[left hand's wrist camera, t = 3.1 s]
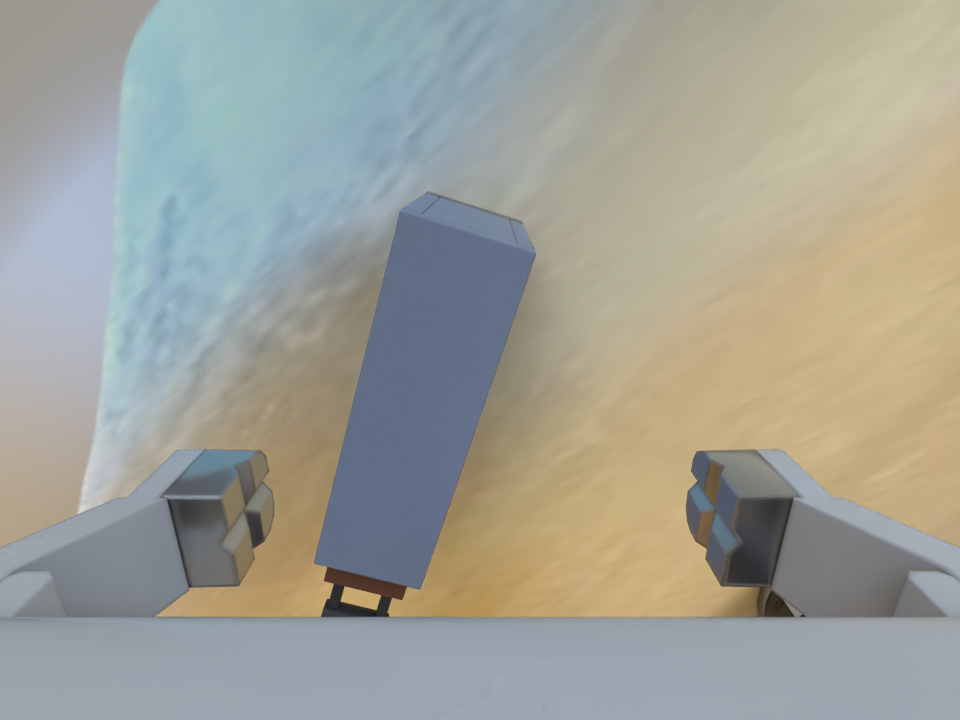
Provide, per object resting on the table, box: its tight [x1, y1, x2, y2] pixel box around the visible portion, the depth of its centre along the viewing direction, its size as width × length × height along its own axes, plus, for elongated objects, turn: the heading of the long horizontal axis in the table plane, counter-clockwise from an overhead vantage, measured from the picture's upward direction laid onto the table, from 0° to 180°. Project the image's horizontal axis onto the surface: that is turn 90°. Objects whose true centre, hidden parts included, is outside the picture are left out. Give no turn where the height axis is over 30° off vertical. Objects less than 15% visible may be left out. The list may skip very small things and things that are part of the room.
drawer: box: [321, 567, 407, 617], centre depth 29 cm, size 22×4×8 cm, turn 163°
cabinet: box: [314, 192, 536, 589], centre depth 28 cm, size 17×5×10 cm, turn 163°
